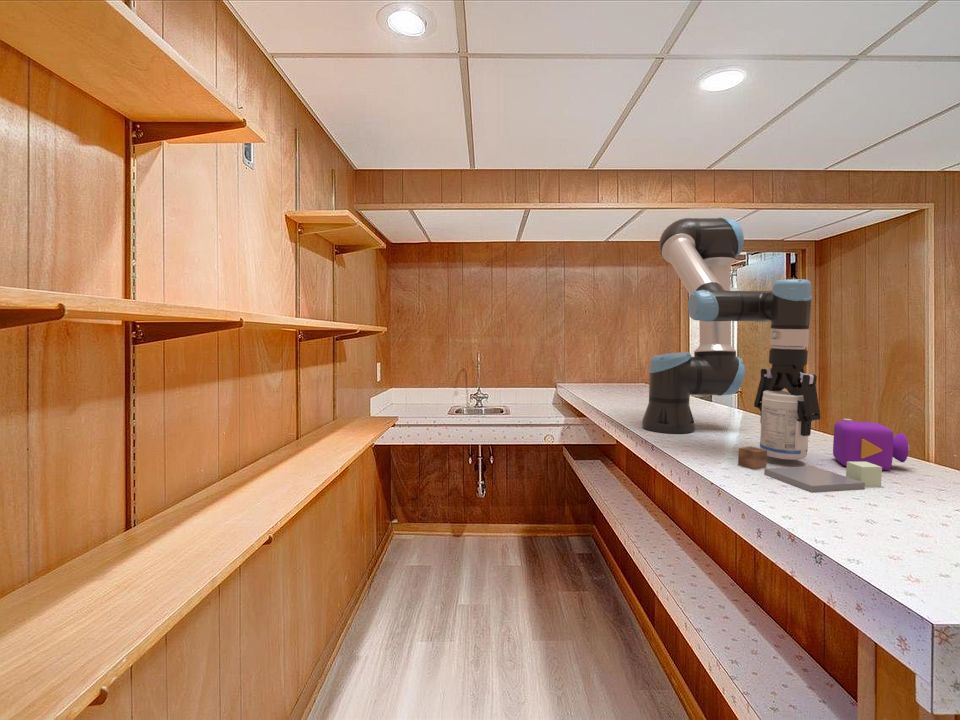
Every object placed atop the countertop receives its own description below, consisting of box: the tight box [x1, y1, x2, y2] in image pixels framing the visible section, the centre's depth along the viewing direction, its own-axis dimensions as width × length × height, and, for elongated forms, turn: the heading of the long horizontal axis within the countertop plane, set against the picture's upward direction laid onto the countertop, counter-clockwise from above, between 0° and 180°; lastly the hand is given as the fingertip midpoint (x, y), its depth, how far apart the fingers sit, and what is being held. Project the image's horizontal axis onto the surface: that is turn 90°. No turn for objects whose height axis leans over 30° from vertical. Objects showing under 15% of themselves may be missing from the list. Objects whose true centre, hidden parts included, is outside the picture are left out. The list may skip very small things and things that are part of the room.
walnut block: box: [737, 445, 768, 471], centre depth 113 cm, size 4×4×4 cm
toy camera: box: [832, 418, 910, 471], centre depth 114 cm, size 11×14×10 cm
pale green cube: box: [845, 462, 883, 488], centre depth 101 cm, size 4×4×4 cm
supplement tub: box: [759, 389, 808, 461], centre depth 117 cm, size 10×10×15 cm
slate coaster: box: [763, 465, 866, 493], centre depth 102 cm, size 12×12×1 cm
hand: (783, 443), depth 117 cm, fingers closed on supplement tub, 9 cm apart
